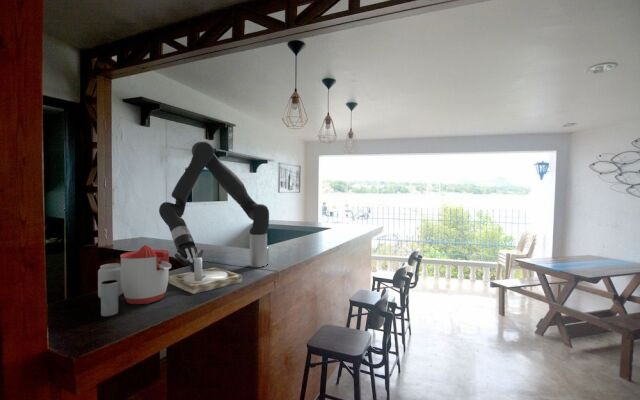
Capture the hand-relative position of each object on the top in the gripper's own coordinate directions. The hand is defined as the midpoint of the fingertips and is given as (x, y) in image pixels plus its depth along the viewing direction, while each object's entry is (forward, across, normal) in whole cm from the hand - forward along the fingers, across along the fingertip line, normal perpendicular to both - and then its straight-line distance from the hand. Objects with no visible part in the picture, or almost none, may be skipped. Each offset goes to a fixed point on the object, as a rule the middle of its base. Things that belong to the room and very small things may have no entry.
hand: (195, 271), depth 127 cm
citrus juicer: (+7, -19, +3) cm, 21 cm away
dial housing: (+3, +6, +6) cm, 9 cm away
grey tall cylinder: (+10, -32, -1) cm, 34 cm away
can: (-3, -27, +13) cm, 30 cm away
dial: (+2, +6, +5) cm, 8 cm away
